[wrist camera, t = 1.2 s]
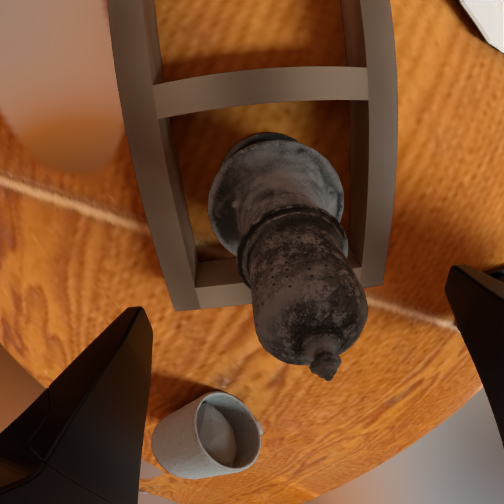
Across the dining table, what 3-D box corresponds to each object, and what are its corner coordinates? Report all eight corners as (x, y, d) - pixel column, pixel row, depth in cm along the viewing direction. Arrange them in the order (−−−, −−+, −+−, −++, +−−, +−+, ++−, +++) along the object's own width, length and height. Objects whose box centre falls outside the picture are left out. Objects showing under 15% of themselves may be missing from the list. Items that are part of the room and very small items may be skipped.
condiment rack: (348, -85, 7) (364, -103, 5) (367, 261, 19) (382, 285, 17) (121, -69, 8) (106, -86, 5) (180, 284, 19) (175, 311, 17)
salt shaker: (343, 181, 16) (478, 346, 6) (268, 249, 18) (305, 451, 8) (268, 103, 14) (371, 176, 4) (189, 185, 16) (127, 386, 6)
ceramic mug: (149, 408, 27) (142, 475, 21) (196, 377, 24) (193, 460, 18) (229, 437, 32) (232, 494, 25) (281, 412, 29) (290, 478, 22)
